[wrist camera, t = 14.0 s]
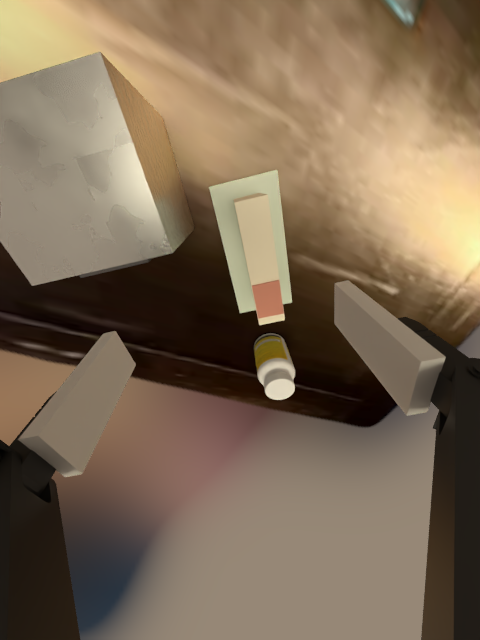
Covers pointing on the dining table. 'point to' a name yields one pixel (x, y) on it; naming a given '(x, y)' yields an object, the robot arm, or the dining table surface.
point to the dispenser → (85, 174)
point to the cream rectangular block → (260, 256)
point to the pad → (232, 236)
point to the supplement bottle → (274, 366)
